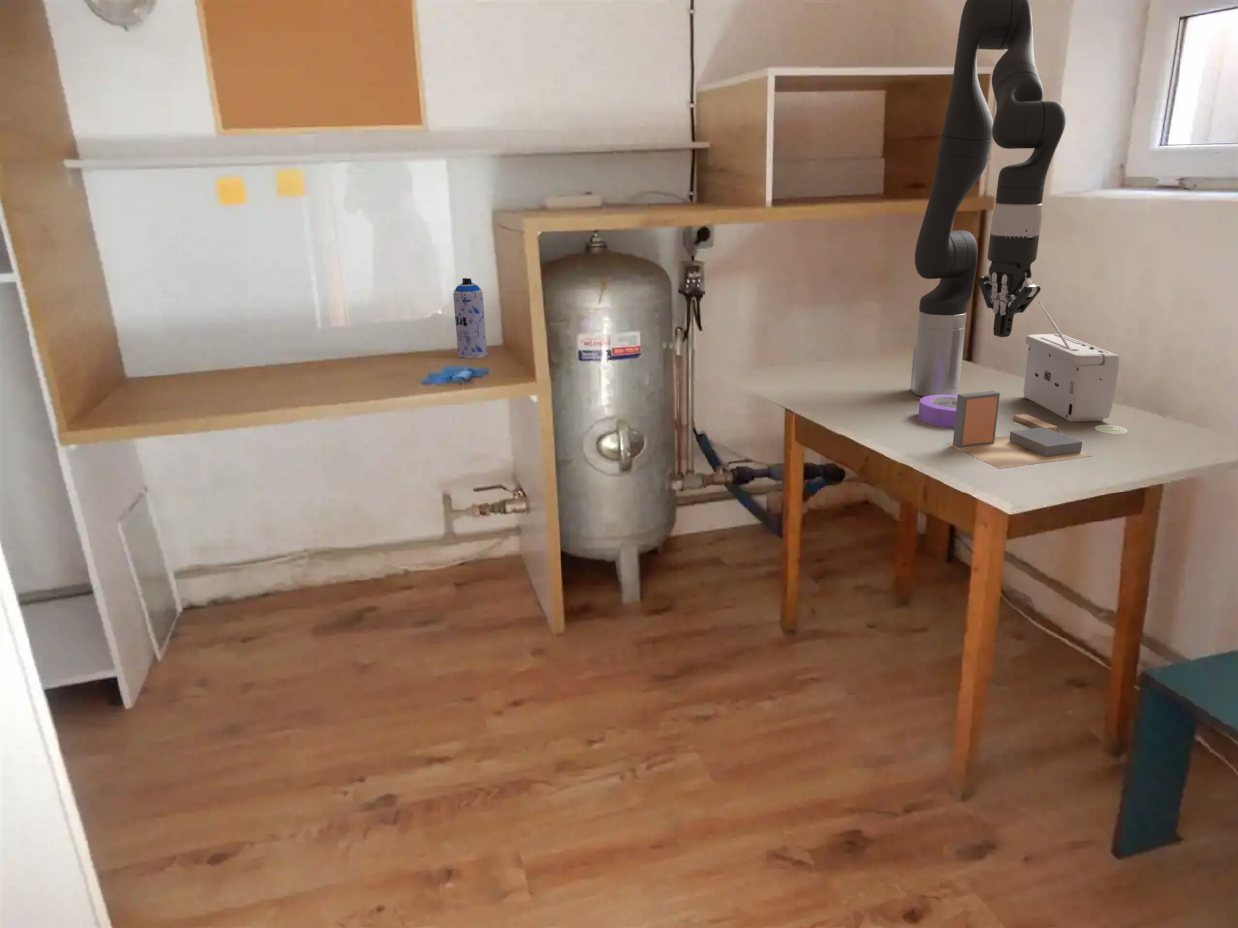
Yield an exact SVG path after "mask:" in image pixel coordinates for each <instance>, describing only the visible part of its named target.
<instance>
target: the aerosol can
mask: <svg viewBox="0 0 1238 928" xmlns="http://www.w3.org/2000/svg"><path fill="white" fill-rule="evenodd" d="M452 295H453V306H454V308H453V309H454V319H455V320H454V322H455V330H456V344H457V357H458V358H460V359H478V358H479V359H480V358H484V357H487V356H489V353H488V350H487V349H488V348H487V338H486V337H487V336H486V321H485V307H484V295H483V290H482V288H480V286H479V285H477V284H475V283H474V282H472V278H469V277H468V278H467V277H463V278H462V283H460V284H458V285H457V286H456V287H455V289H454V290H453V294H452Z"/></svg>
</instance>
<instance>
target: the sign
mask: <svg viewBox="0 0 1238 928" xmlns="http://www.w3.org/2000/svg"><path fill="white" fill-rule="evenodd" d="M1094 430H1096V431H1098V432H1100V433H1105V434H1112V435H1123V434H1126V433H1128V429H1126V428H1125V427H1121V426H1117V425H1114V424H1113V425H1112V424H1111V425H1110V424H1099V425H1096V426H1095V427H1094Z"/></svg>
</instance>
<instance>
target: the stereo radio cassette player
mask: <svg viewBox="0 0 1238 928" xmlns="http://www.w3.org/2000/svg"><path fill="white" fill-rule="evenodd" d="M1037 303H1038V304H1039V305H1040V306H1041V308H1042V310H1043V312H1044V313H1045V314H1046V317H1047V318H1048V319H1049V321H1050V324H1052V326H1053V328H1054V329H1055V331H1056V333H1048V334H1047V333H1040V334H1039V333H1038V334H1037V333H1036V334H1028V335H1026V338H1025V344H1026V345H1028V349H1027V350H1028V352H1027V359H1026V360H1027V361H1026V367H1025V375H1024V383H1023V397H1024V398H1025V399H1027V400H1030V401H1032V402H1034V403H1036V404H1038V405H1040V406H1041V407H1043V408H1045V409H1046V410H1049V411H1050V412H1052V413H1054V414H1055V415H1058V416H1059V417H1062V418H1064V419H1065V420H1067V421H1069V422H1103V421H1104V419H1105V420H1106V419H1109V418H1110V415H1111V412H1112V407H1113V403H1114V400H1115V394H1116V393H1115V392H1116V388H1117V382H1118V373H1119V365H1120V364H1119V363H1120V358H1119V355H1118V354H1117V353H1113V352H1111V351H1108V350H1105V349H1103V348H1100V347H1098V346H1095V345H1092V344H1089V343H1087V342H1084V341H1082V340H1079V339H1076V338H1073V337H1071V336H1068V335H1066V334H1063V333H1061V331H1060V330H1059V329H1060V328H1058V326H1057V325H1056V323H1055V321H1054V320H1053V319H1052V317H1051V315H1050V314H1049V313H1048V311H1047V310H1046V309H1045V307H1044V306H1043V305H1042V301H1041V300H1039V301H1037Z"/></svg>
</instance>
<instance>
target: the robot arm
mask: <svg viewBox="0 0 1238 928" xmlns="http://www.w3.org/2000/svg"><path fill="white" fill-rule="evenodd" d="M1031 8H1032V6H1031V4H1030V1H1029V0H965V3H964V5H963V8H962V13H961V16H960V23H959V29H958V35H957V43H956V52H955V59H954V68H953V75H952V81H951V88H950V92H949V99H948V103H947V107H946V112H945V117H944V122H943V126H942V130H941V136H940V141H939V146H938V151H937V157H936V164H935V170H934V175H933V180H932V185H931V189H930V194H929V198H928V202H927V205H926V210H925V213H924V216H923V221H922V223H921V226H920V230H919V233H918V237H917V241H916V245H915V250H914V265H915V269H916V272H917V274H918V275H919V276H920V277H921V278H922V279H925V280H926V279H927V280H934V279H935V280H936V279H937V280H938V279H940V280H939V283H938V284H937V285H936V287H935V288H933V289H932V290H931V291H929V292H928V293H926V294H924V295H923V296H922V297H921V298H920V300H919V308H918V319H917V320H918V321H917V334H916V343H915V345H914V346H913V353H912V364H911V365H912V366H911V377H910V378H911V379H910V390H912V393H913V394H914V395H917V396H919V397H922V398H923V397H926V396H930V395H958V394H959V393H960V392H959V389H960V382H961V381H960V380H961V372H962V363H963V353H964V343H965V333H966V321H967V313H968V312H967V311H968V305H969V302H970V301H971V299H972V297H973V294H974V292H973V291H974V285H975V279H976V272H977V265H978V258H979V257H978V256H979V252H978V250H979V248H978V244H977V240H976V237H975V236H974V235H973V233H971V232H970V231H967V230H965V229H962V230H961V229H958V230H952V228H953V223H954V221H955V217H956V214H957V212H958V209H959V207H960V205H961V203H963V201H964V199H965V198H966V197H967V195H968V194H969V193H970V191H971V190H972V188H973V187H974V185H975V184H976V182H977V181H978V180H979V178H980V177H981V176H982V174H983V173H984V171H985V169H986V166H987V164H988V161H989V158H990V152H991V149H992V143H993V141H994V143H995V144H996V145H997V146H999V147H1000V148H1002V149H1007V150H1015V149H1016V150H1017V149H1022V150H1023V149H1026V150H1028V149H1033V152H1032V153H1031V155H1030V156H1029V157H1028V158H1027V159H1026V160H1025V161H1022V162H1019V163H1014V164H1010V165H1009V164H1008V165H1006V166H1004V167H1002V168H1001V169H1000V171H999V173H998V179H997V187H996V194H995V203H994V208H993V212H992V217H991V222H990V223H991V224H990V231H989V240H988V249H987V256H986V258H987V261H990V262H991V263H990V266H989V268H988V273H987V274H985V275H982V276H978V278H977V283H978V285H979V288H980V291H981V293H982V296H983V300H984V302H985V304H986V307H987V308H988V309H992V312H993V313H994V318H993V319H994V320H993V321H994V322H993V326H992V327H993V335H994V336H996V337H999V338H1008V337H1009V336H1010V335H1011V332H1012V331H1013V323H1014V316H1015V315H1016V314H1018V313H1020V314H1022V313H1024V312H1025V311H1026V310H1027V308H1028V307H1029V306H1030V304H1031V303H1032V302H1034V301H1033V300H1034V299H1035V298H1036V297H1037V296H1038V294H1039V293H1040V292H1041V286H1040V285H1039V284H1037V285H1036V284H1034V282H1033V280H1031V278H1032V269H1031V266H1032V264H1033V262H1035V261H1036V260H1037V256H1038V249H1039V241H1040V234H1041V226H1042V219H1043V218H1042V217H1043V214H1042V213H1043V212H1042V209H1043V204H1042V203H1043V198H1044V192H1045V191H1044V190H1045V184H1046V178H1047V175H1048V172H1049V168H1050V165H1051V162H1052V159H1053V157H1054V154H1055V152H1056V150H1057V148H1058V145H1059V143H1060V141H1061V139H1062V137H1063V134H1064V131H1065V127H1066V124H1067V115H1066V111H1065V109H1064V107H1063V105H1062V104H1061V103H1060V102H1058V101H1055V100H1043V98H1044V88H1043V84H1042V81H1041V79H1040V78H1041V77H1040V75H1039V72H1038V69H1037V65H1036V61H1035V54H1034V52H1035V51H1034V50H1035V49H1034V30H1033V29H1034V28H1033V16H1032V15H1033V14H1032V9H1031ZM979 50H992V51H993V50H994V51H996V50H997V51H1003V50H1006V51H1005V53H1003V54H1002V56H1001V57H1000V58H999V60H997V63H996V64H995V66H994V68H993V71H992V74H991V87H992V90H993V91H992V92H993V95H994V98H995V101H996V102H995V103H996V111H995V115H994V119H993V116H992V114H991V111H990V107H989V105H988V103H987V100H986V98H985V96H984V94H983V90H982V88H981V86H980V85H981V84H980V82H979V75H978V68H977V59H978V53H979V52H978V51H979Z"/></svg>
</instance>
